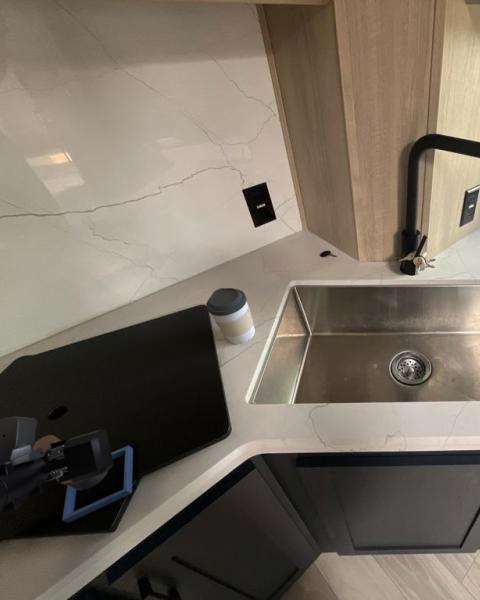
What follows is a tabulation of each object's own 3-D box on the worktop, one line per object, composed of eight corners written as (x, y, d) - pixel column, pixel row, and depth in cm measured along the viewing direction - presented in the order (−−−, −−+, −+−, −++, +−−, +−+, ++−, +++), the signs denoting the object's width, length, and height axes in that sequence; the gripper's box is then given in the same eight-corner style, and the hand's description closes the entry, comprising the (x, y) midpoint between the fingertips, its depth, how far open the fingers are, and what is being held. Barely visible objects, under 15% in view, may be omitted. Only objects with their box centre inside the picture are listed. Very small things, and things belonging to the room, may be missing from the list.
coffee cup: (266, 335, 88) (250, 295, 78) (234, 355, 83) (213, 314, 73) (249, 319, 92) (232, 278, 82) (218, 336, 87) (196, 295, 77)
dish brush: (74, 499, 54) (19, 472, 46) (69, 473, 57) (17, 443, 49) (113, 475, 57) (68, 445, 49) (107, 451, 60) (64, 420, 52)
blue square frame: (71, 524, 56) (61, 520, 54) (78, 474, 61) (69, 469, 60) (134, 494, 59) (127, 490, 57) (135, 450, 65) (128, 445, 63)
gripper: (58, 409, 41) (124, 387, 56) (-147, 462, 36) (-13, 422, 51) (77, 494, 41) (138, 449, 56) (-126, 559, 36) (2, 490, 51)
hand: (70, 451), depth 54 cm, fingers closed on dish brush, 3 cm apart
